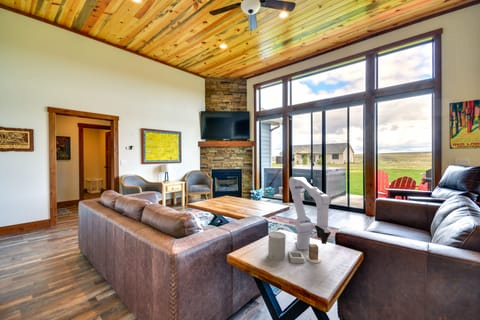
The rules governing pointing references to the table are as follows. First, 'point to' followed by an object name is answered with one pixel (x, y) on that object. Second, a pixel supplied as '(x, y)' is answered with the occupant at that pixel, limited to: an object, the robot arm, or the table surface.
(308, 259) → the coaster
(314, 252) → the walnut block
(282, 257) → the grey cylinder
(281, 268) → the table surface
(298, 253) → the pocket
